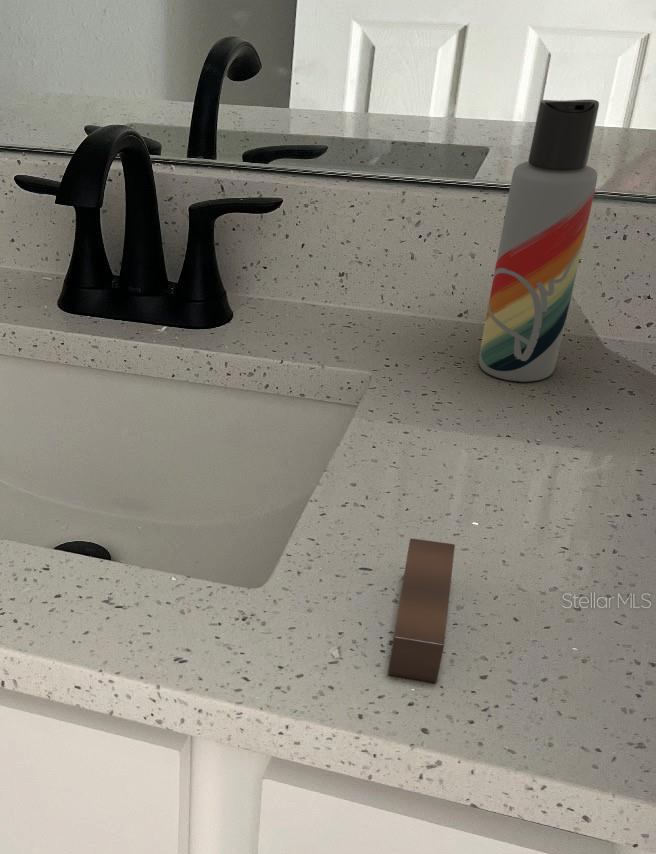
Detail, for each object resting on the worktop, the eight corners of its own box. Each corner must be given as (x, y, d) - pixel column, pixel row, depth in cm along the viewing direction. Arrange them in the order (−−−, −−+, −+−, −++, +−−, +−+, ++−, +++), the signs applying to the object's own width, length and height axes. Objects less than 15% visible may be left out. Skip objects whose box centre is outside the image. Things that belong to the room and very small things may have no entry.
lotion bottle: (484, 382, 91) (536, 106, 80) (472, 352, 96) (519, 87, 85) (561, 384, 91) (625, 106, 79) (545, 353, 95) (603, 87, 84)
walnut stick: (404, 573, 71) (410, 537, 69) (448, 579, 70) (455, 543, 68) (387, 675, 63) (393, 637, 61) (436, 683, 62) (443, 645, 61)
